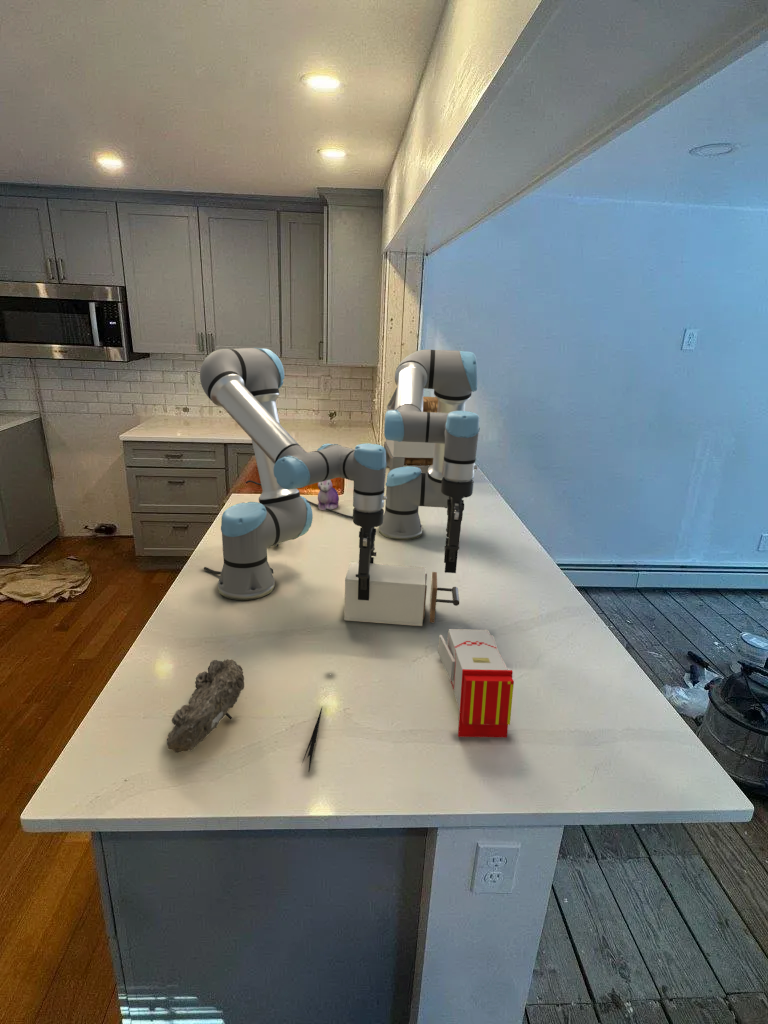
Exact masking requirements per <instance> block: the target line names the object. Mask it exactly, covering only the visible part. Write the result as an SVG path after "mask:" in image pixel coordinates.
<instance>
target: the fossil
mask: <svg viewBox="0 0 768 1024" xmlns="http://www.w3.org/2000/svg"><path fill="white" fill-rule="evenodd" d="M243 670H244V669H243V667H242V665H240V664H237V662H236V661H235V660H234V659H232V658H231V659H227V658H226V659H224V660H223V661H222V660H217V659H212V660H211V661H210V663H209V665H208V666H207V671H201V672H199V673H198V674H197V675H196V676H195V680H194V684H195V685H194V687H195V689H194V690H193V693H192V694H191V697H190V698H189V700H188V704H184V705H182V706H181V707H180V709H177V710H176V711H175V713H174V715H173V716H172V718H171V723H172V724H173V727H172V730H171V731H170V732H168V734H167V738H166V741H167V742H166V745H167V749H168V750H169V751H173V752H174V753H176V754H178V753H182V752H188V751H189V752H192V751H193V750H195V748H196V747H197V746H199V744H200V743H201V742H203V741H204V740H205V739H206V738H207V737H208V736H209V735H210V734H211V733H212V732H214V730H215V729H217V727H218V726H219V724H220V722H221V721H222V720H223V719H224V718H225V716H226V717H227V719H229V720H233V717H232V715H230V714H229V710H230V709H231V708H234V706H235V704H236V703H237V702H238V699H239V697H240V695H241V693H242V691H243V690H245V689H244V688H245V675H244V671H243Z"/></svg>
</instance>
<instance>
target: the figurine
mask: <svg viewBox="0 0 768 1024" xmlns="http://www.w3.org/2000/svg"><path fill="white" fill-rule="evenodd" d="M317 487H318V490H319V491H318V493H317V502H318V503H317V505H318V506H319V507H317V508H318V510H321V511H327V510H326V508H327V509H330V510H334V509H337V508H338V506H339V500H340V497H339V493H338V491H337V489H336V488H334V487H333V483H332V479H330V480H326V481H323V482H318V483H317Z"/></svg>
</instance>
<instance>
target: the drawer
mask: <svg viewBox="0 0 768 1024" xmlns="http://www.w3.org/2000/svg"><path fill="white" fill-rule="evenodd" d="M427 578H428V573H426V578H425V597H424V610H423V620H425V617H426V615H425V614H426V602H427V601H426V600H427V591H428V590H427V589H428V585H427ZM430 583H431V584H430V592H429V593H430V594H429V623H433V624H435V620H436V611H437V610H436V609H437V603H446V604H452V605H453V606H455V607H458V606H459V605H460V597H459V588H458V587H457V586H452V587H451V588H447V587H438V572H437V571H432V572H431V581H430ZM438 592H451V598H452V599H440V598H437V597H438Z"/></svg>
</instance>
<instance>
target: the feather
mask: <svg viewBox="0 0 768 1024" xmlns="http://www.w3.org/2000/svg"><path fill="white" fill-rule="evenodd" d="M329 675H330V676H331V675H332V674H331V673H330V674H329ZM322 710H323V707H321V708H320V710H319V713H318V716H317V719H316V723H315V725H314V728H313V731H312V733H311V737H310V739H309V742H308V745H307V748H306V751H305V754H304V757H303V760H302V763H301V767H302V765H303V763H304V761H305V758H308V759H309V760H308V762H307V763H308V764H307V766H308V771H310V770H311V766H312V765H311V764H312V760H313V757H315V756H314V755H315V751H316V749H315V746H317V739H318V733H319V729H320V722H321V717H322V712H323V711H322ZM313 754H314V755H313ZM306 755H307V757H306Z"/></svg>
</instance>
